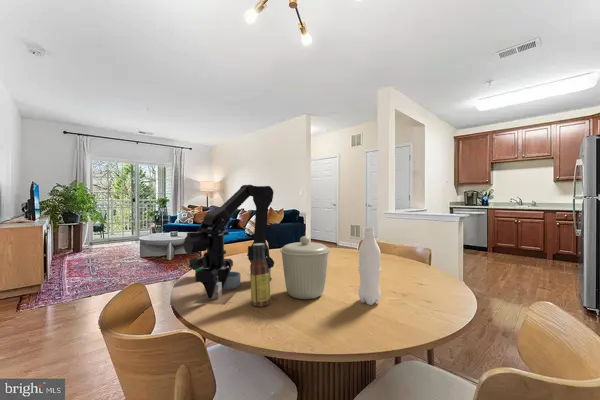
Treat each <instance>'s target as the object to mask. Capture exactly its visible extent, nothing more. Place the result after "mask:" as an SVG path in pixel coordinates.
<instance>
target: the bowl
mask: <svg viewBox="0 0 600 400" xmlns="http://www.w3.org/2000/svg"><path fill="white" fill-rule="evenodd" d="M217 278H218V276H217ZM217 282H218V280H217ZM240 286H241V273H240V272H239V271H232V270H230V272H229V275H228V277H227V279H226V282H225V284H224V286H223V288H222V291H230V290H234V289H238V288H239V287H240Z"/></svg>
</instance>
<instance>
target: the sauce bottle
mask: <svg viewBox="0 0 600 400" xmlns="http://www.w3.org/2000/svg"><path fill="white" fill-rule="evenodd" d="M252 244H253V243H252ZM252 244H251V245H252ZM252 248H253V260H252V263H250V271H249V272H250V273H249V276H250V297H251V298H250V299H251V305H252V306H253V307H256V308H257V307H258V308H259V307H260V308H262V307H263V308H264V307H266V306H269V304H270V303H271V285H270V284H271V283H270V282H271V280H270V278H269V268H268V265H267V262H266V259H265V254H264V253H265V252H264V248H265V244H263V243H256V244H253V245H252Z"/></svg>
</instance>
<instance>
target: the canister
mask: <svg viewBox="0 0 600 400" xmlns="http://www.w3.org/2000/svg"><path fill="white" fill-rule="evenodd" d="M279 251H280V253H281V259H282V268H283V276H284V283H285V289H286V292H287V294H288V295H289V296H290V297H293V299H298V300H312V299H316V298H318V297H320V296H321V295H322V294H323V293H324V290H325V287H326V279H327V271H328V270H327V269H328V260H329V254H330V252H331V249H330V248H329V247H328V246H327V245H325V244H323V243H320V242H319V243H318V242H313V241H312V242H311V238H310V237H309V236H308V235H304V236H303V235H302V236H301V237H300V238H299V242H298V241H297V242H292V243H288V244H285V245H284V246H282V247H281V248H280V249H279Z"/></svg>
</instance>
